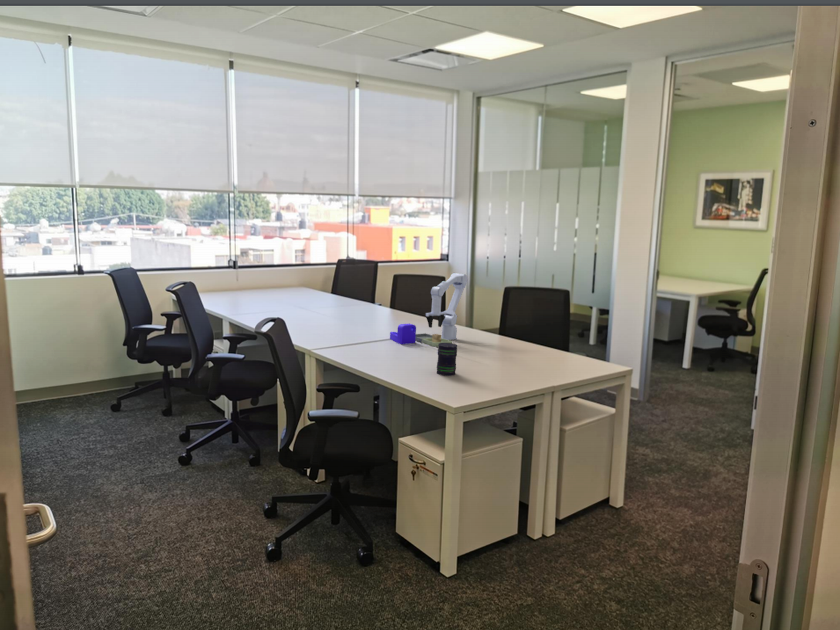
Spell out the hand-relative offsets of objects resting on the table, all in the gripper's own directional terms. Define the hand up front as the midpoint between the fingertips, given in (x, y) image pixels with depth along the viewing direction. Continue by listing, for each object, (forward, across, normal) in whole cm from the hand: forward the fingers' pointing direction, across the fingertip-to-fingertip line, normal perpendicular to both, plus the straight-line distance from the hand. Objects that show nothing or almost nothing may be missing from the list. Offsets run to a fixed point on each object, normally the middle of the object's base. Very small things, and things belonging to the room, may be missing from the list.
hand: (434, 327), depth 397 cm
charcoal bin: (+9, +3, -8) cm, 12 cm away
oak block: (+9, +3, +6) cm, 11 cm away
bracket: (+10, +20, -10) cm, 24 cm away
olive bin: (+9, +3, +6) cm, 12 cm away
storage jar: (+10, +45, +66) cm, 80 cm away
